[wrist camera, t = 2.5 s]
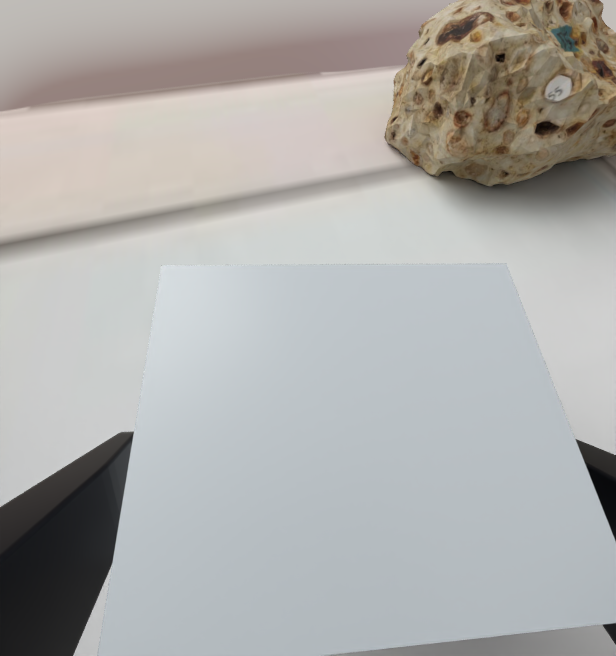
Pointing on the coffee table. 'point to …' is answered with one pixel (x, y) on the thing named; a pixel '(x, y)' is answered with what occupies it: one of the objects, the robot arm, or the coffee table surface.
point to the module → (349, 468)
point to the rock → (507, 89)
